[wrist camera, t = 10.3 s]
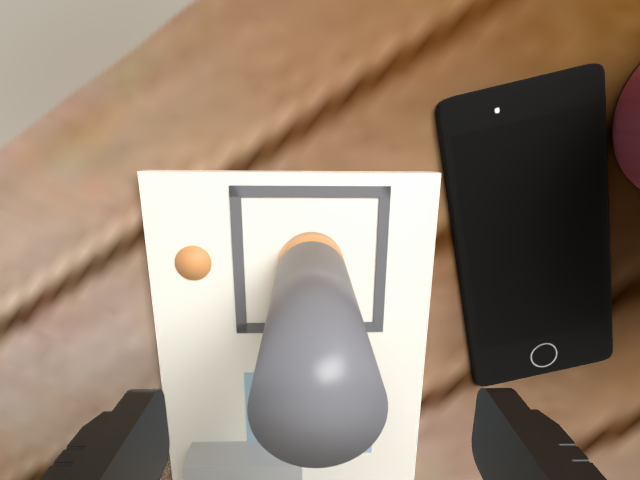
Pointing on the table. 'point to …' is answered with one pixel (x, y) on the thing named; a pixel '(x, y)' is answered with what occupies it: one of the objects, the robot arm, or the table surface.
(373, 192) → the board
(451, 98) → the cell phone
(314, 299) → the marker
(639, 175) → the plant pot
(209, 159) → the table surface
